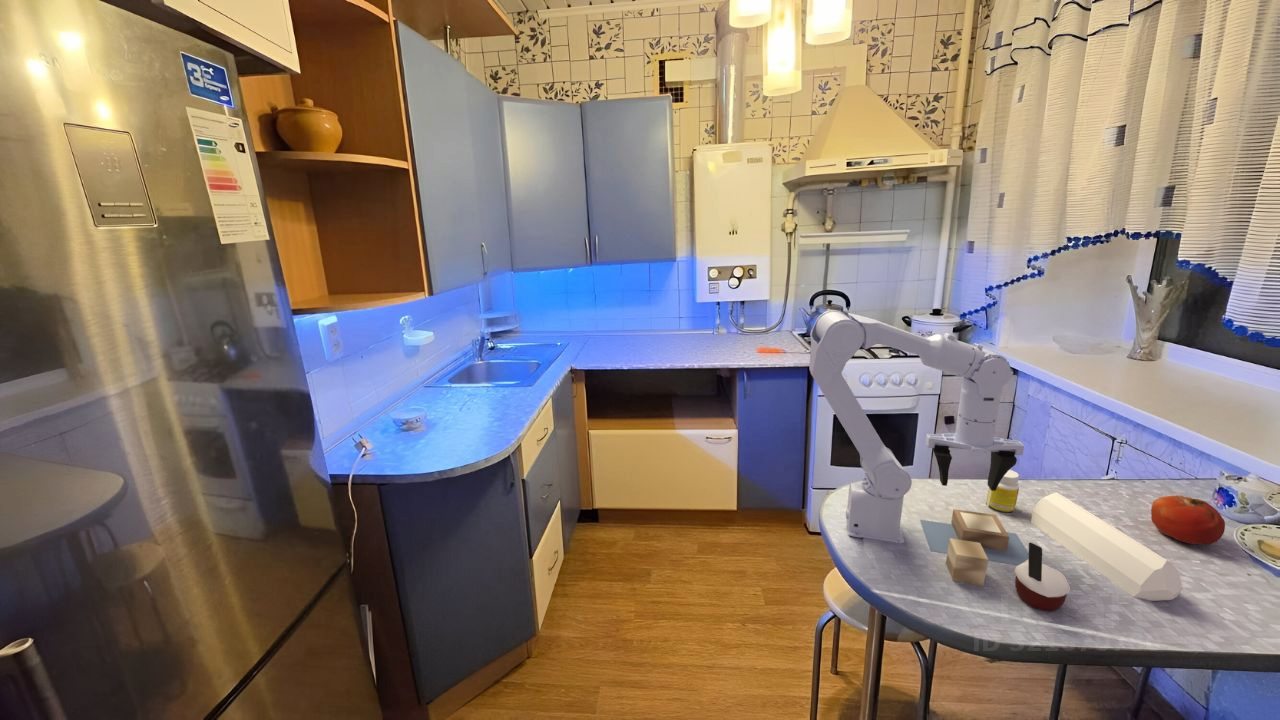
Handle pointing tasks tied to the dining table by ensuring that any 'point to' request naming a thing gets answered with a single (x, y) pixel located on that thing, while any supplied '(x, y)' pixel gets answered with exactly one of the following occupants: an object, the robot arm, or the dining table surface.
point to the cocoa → (1040, 582)
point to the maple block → (966, 561)
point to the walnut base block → (980, 529)
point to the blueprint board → (1014, 555)
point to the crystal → (1107, 549)
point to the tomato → (1187, 519)
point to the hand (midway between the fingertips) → (967, 485)
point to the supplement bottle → (1004, 494)
